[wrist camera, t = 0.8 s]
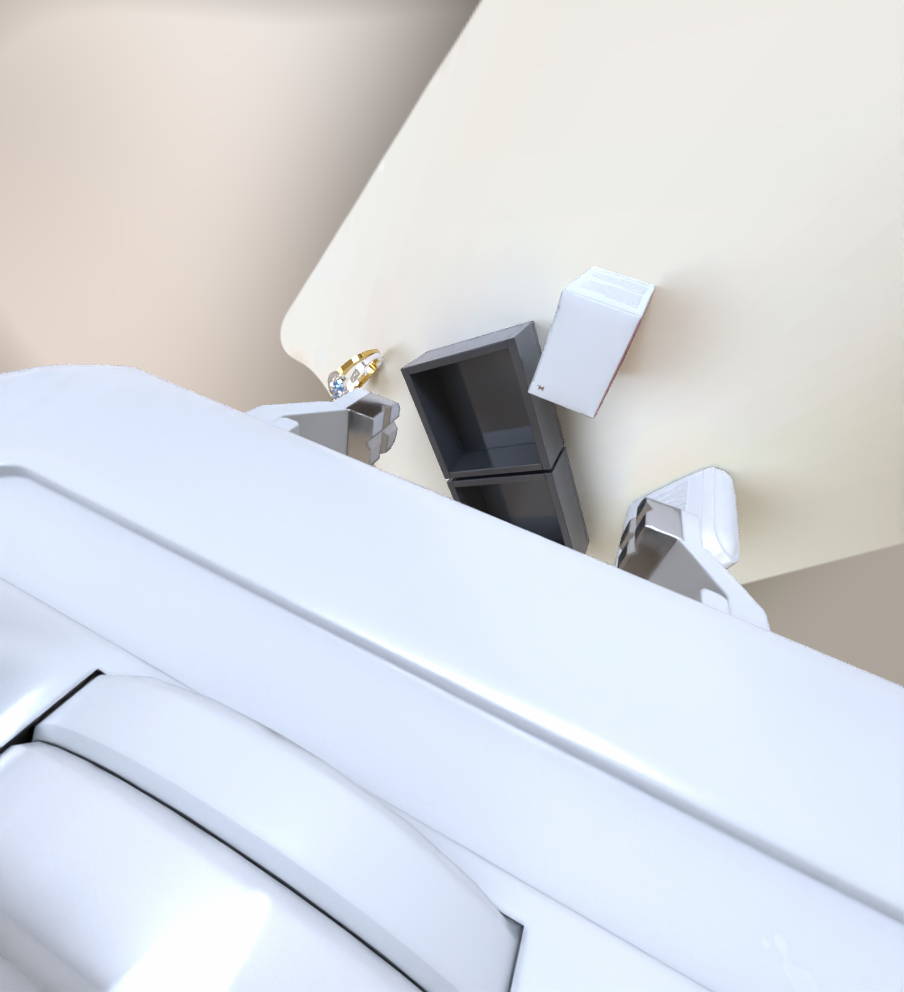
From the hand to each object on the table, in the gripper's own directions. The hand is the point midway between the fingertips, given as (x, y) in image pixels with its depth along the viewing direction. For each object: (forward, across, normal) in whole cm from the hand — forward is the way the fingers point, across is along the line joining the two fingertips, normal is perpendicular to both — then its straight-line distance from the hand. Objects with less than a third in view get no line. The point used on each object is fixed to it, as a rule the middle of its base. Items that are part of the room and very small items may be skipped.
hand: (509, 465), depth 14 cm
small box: (+31, -1, +1) cm, 31 cm away
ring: (+33, +22, +14) cm, 42 cm away
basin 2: (+32, 0, +23) cm, 40 cm away
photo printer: (+31, -14, +15) cm, 38 cm away
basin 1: (+32, +7, +12) cm, 35 cm away
